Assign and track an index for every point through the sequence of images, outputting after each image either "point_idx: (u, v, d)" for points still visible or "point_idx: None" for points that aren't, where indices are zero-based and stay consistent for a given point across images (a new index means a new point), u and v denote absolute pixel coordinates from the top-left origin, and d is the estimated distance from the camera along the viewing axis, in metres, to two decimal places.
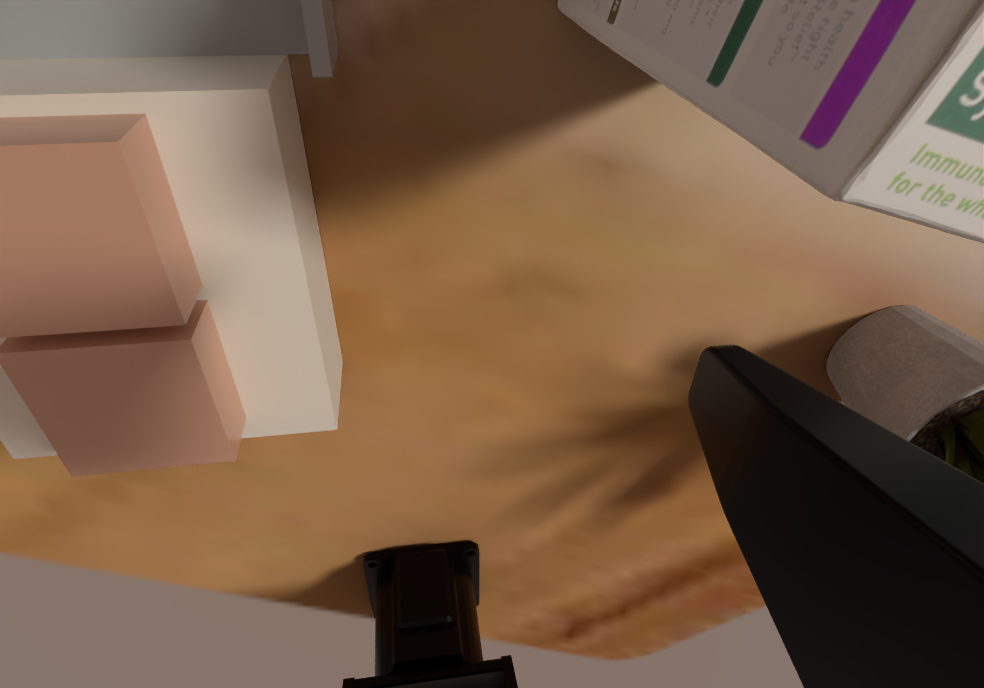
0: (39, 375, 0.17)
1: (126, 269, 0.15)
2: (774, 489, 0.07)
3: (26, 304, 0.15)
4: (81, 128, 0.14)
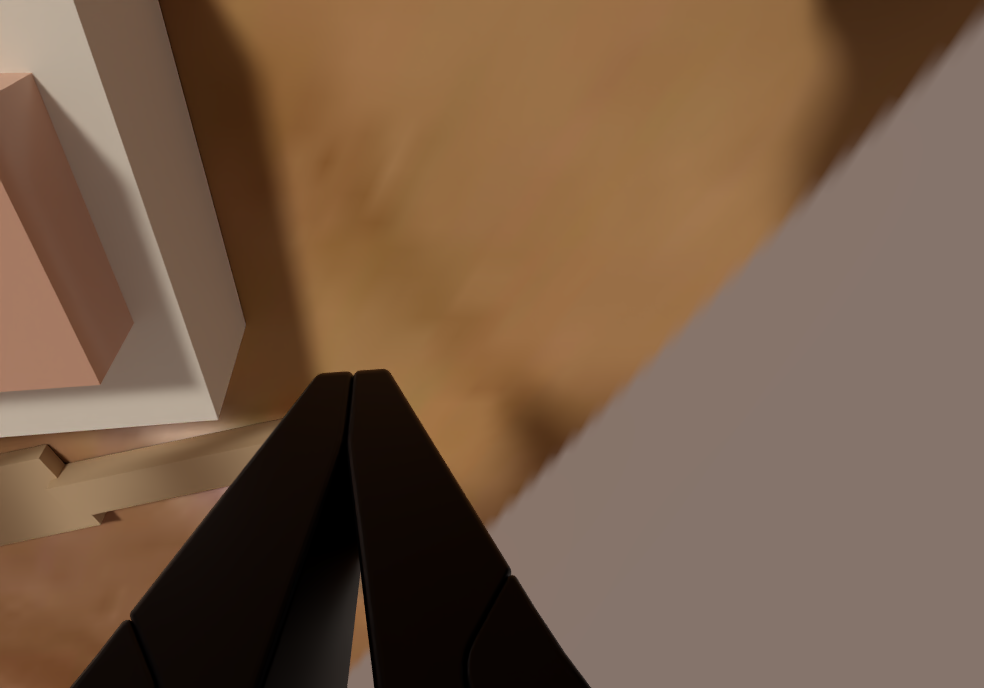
0: None
1: None
2: None
3: None
4: None
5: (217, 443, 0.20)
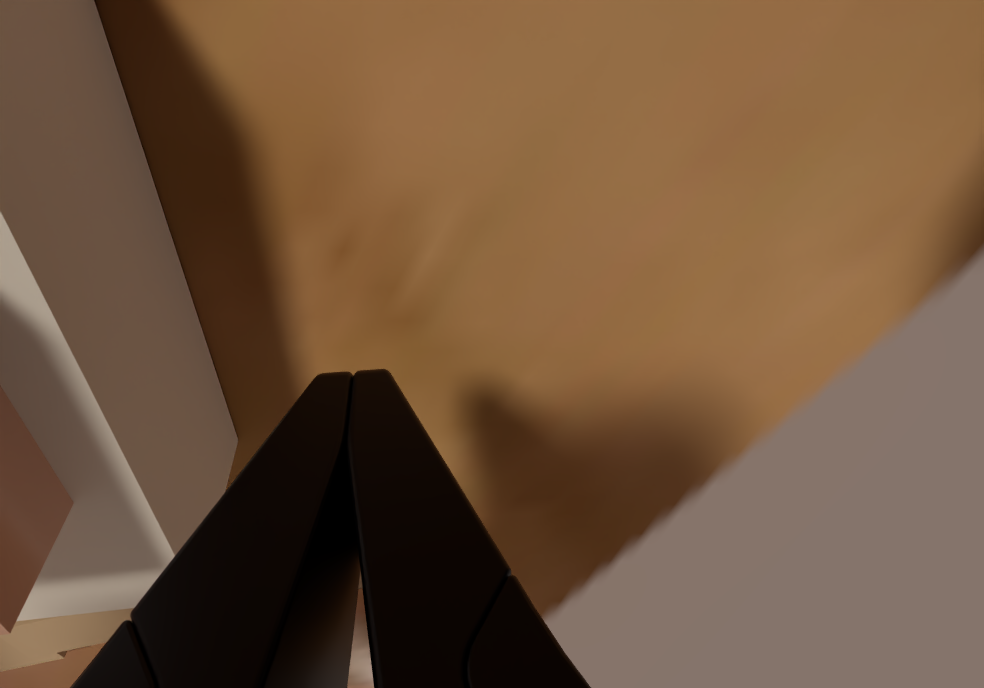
0: None
1: None
2: None
3: None
4: None
5: None
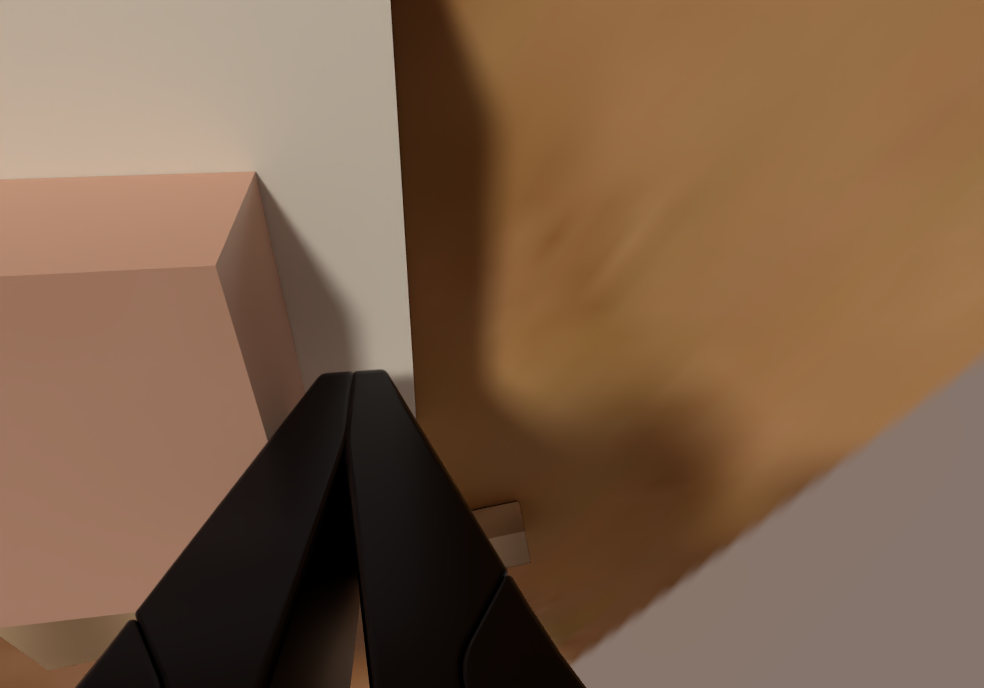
0: None
1: None
2: None
3: None
4: None
5: None
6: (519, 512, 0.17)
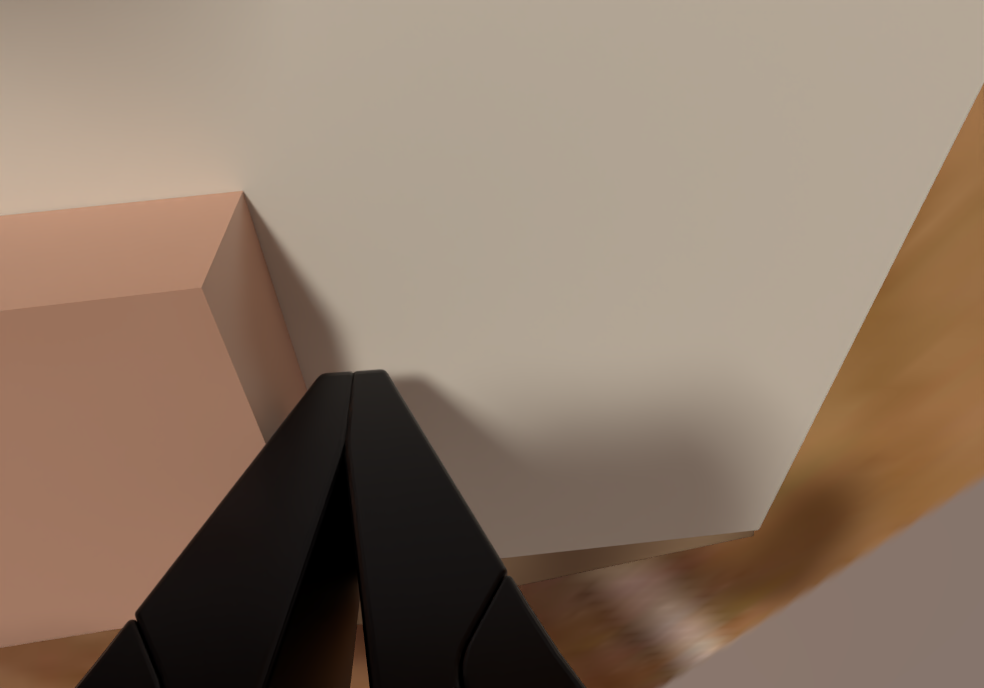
0: None
1: None
2: None
3: None
4: None
5: None
6: None
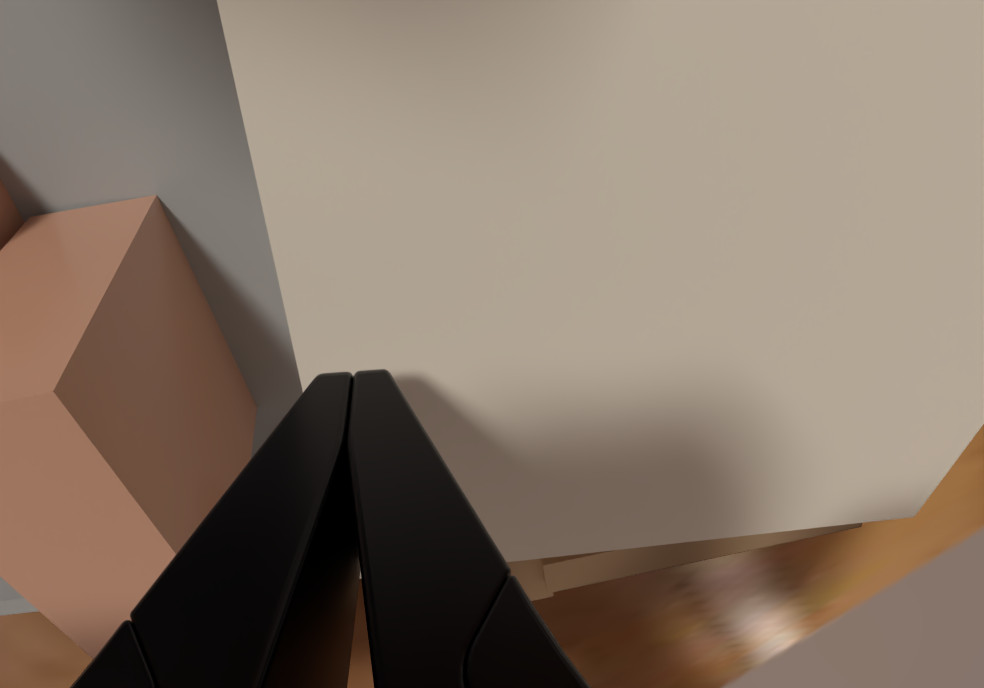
0: None
1: None
2: None
3: None
4: None
5: None
6: None
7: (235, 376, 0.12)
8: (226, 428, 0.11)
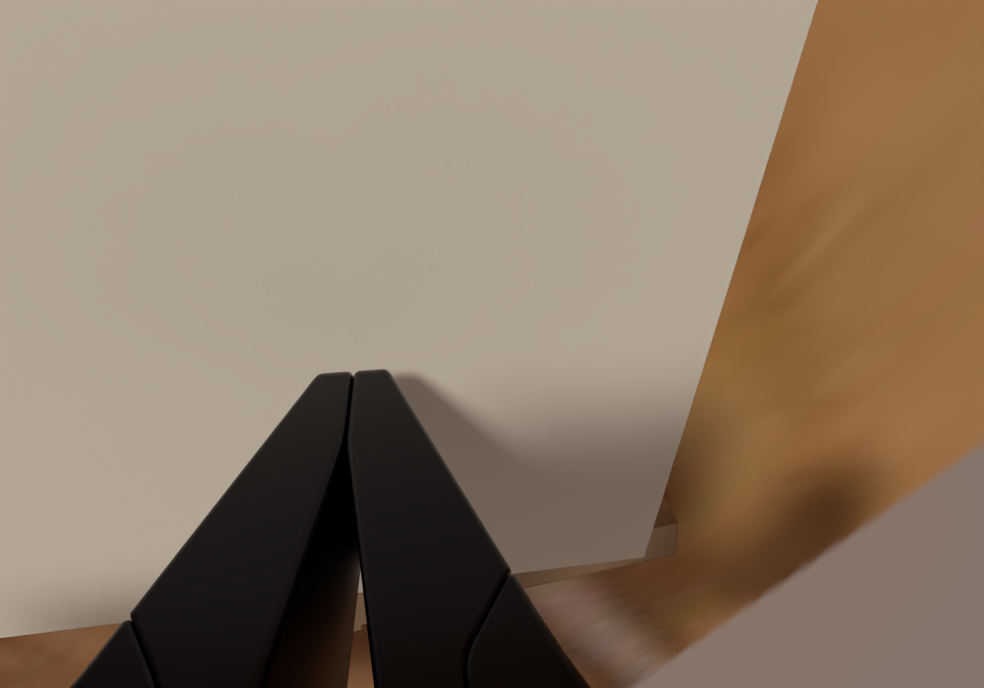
0: None
1: None
2: None
3: None
4: None
5: None
6: (668, 505, 0.18)
7: None
8: None
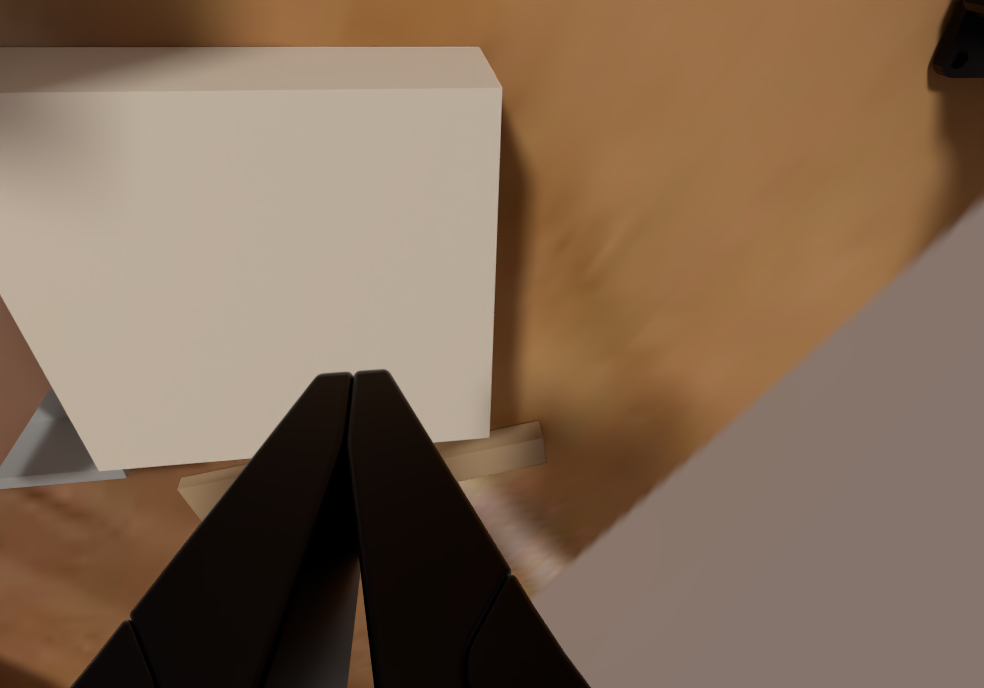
0: None
1: None
2: None
3: None
4: None
5: None
6: (539, 427, 0.25)
7: None
8: (17, 376, 0.18)
